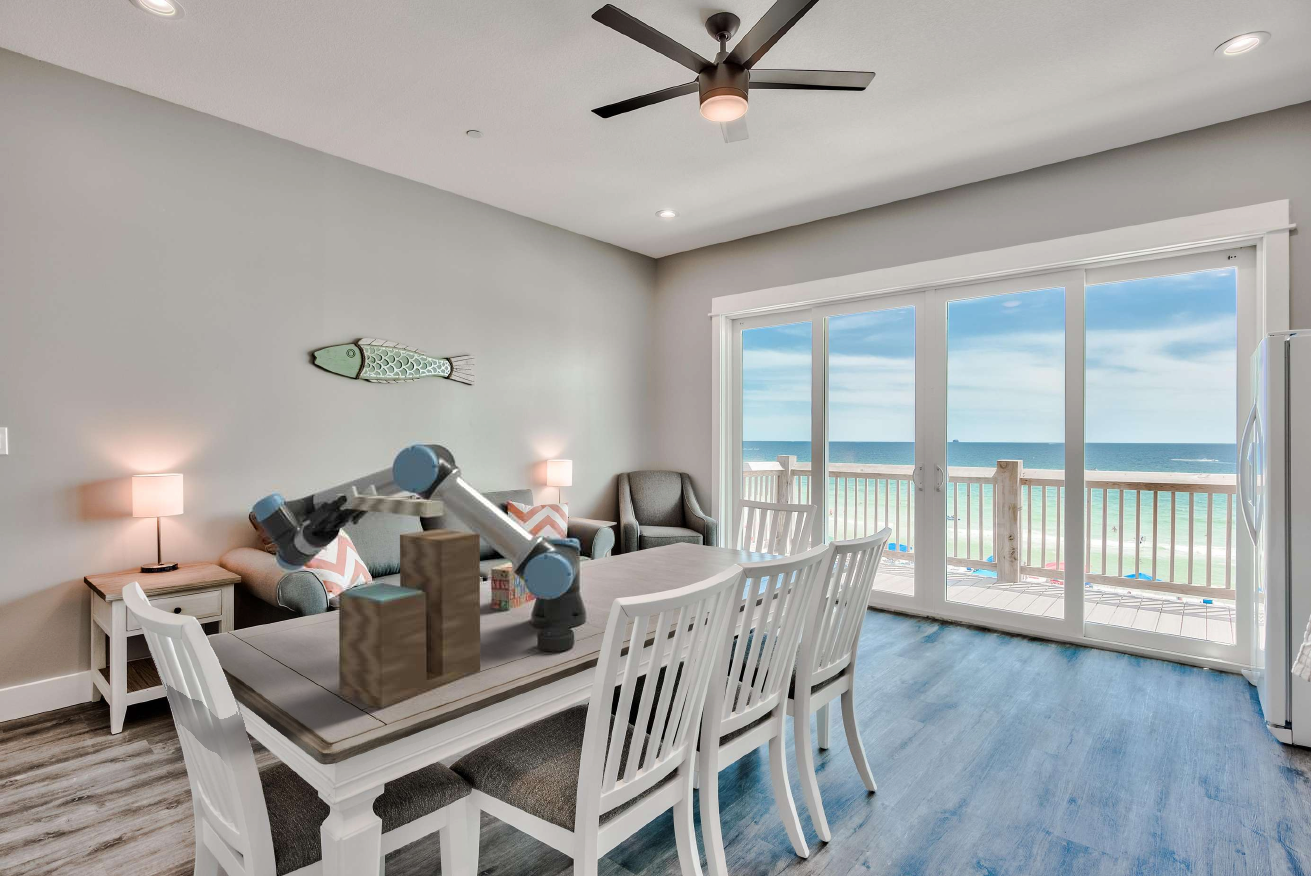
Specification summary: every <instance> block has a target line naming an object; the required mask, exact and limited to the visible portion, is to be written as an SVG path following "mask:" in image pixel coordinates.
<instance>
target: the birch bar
mask: <svg viewBox="0 0 1311 876" xmlns="http://www.w3.org/2000/svg"><path fill="white" fill-rule="evenodd" d="M342 495H343V494H336V500H337V499H338V498H339V497H340V496H342ZM340 508H341V507H340ZM346 508H347V509H356V510H365V511H368V512H374V513H376V512H377V513H385V514H392V515H393V514H395V515H405V516H413V517H422V518H431V517H441V516H444V508H443V501H434V500H423V499H422V498H421V499H420V498H409V497H397V496H390V497H388V496H377V495H365V494H358V497H357V498H356V499H355V500H354V501H353V502H352V503H351V504H350V505H349V506H348V507H346Z"/></svg>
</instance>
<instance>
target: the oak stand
mask: <svg viewBox="0 0 1311 876" xmlns="http://www.w3.org/2000/svg"><path fill="white" fill-rule="evenodd" d="M480 541H481V539H480V534H475V533H474V532H467V531H466V532H464V531H455V530H447V529H440V528H438V529H437V528H436V529H429V530H424V531H418V532H417V531H416V532H409V533H403V534H399V564H400V565H399V582H400V583H399V584H400V585H395V584H391V583H386V582H385V583H384V582H382V583H378V584H372V585H368V586H363V587H359V588H354V589H348V590H345V591H342V592H341V593H339V594H338V619H339V620H338V636H339V639H338V641H339V644H338V647H339V649H338V650H339V651H338V653H339V656H338V657H339V659H338V661H339V666H338V667H339V669H338V670H339V694H341V695H343V696H344V697H347V698H350V699H353V700H355V701H358V702H361V703H364V704H365V705H369V706H371V707H375V708H376V709H379V710H385V709H386V708H389V707H392V706H394V705H396V704H400V703H402V702H405V701H406V700H409V699H412V698H415V697H418V696H420V695H422V694H424V693H428V692H430V691H432V690H435V689H438V688H440V687H442V686H445V685H448V684H450V683H453V682H456V681H457V680H460V679H463V678H466V677H468V676H471V675H474V674H476V673H478V672H481V591H480V589H481V584H480V583H481V580H480V579H481V576H480V575H481V569H480V566H481V563H480V562H481V561H480V560H481V557H480V555H481V552H480V551H481V550H480V547H481V546H480Z"/></svg>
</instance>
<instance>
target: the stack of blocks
mask: <svg viewBox="0 0 1311 876" xmlns="http://www.w3.org/2000/svg"><path fill="white" fill-rule="evenodd" d="M490 574H491V579H490V582H491V583H490V585H491V587H490V588H491V609H492V610H499V611H511V610H513V609H517V608H518V607H520V606H523V605H525V604H527V603H529V602H530V601H533V600H536V598H537V597H536V596H534V595H533V594H531V593H530V592H529V591H528V589H527V588H526V585H525V583H524V580H522V579H521V578H520V577H519V576H517V575H516V574H515V573H514V572H513V566H512V563H511V562H510V561H509V562H507V563H504V564H501V565H498V566H496V567H492V568H491V572H490Z"/></svg>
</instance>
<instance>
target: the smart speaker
mask: <svg viewBox="0 0 1311 876" xmlns="http://www.w3.org/2000/svg"><path fill="white" fill-rule="evenodd" d="M574 646H575V632H574V630H572V628H570V627H569V628H566V627H550V628H542V630H539V632H538V633H537V647H538V649H539V650H541V651H543V652H547V653H559V652H560V653H561V652H564V651H568V650H570V649H571V648H573V647H574Z"/></svg>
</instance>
